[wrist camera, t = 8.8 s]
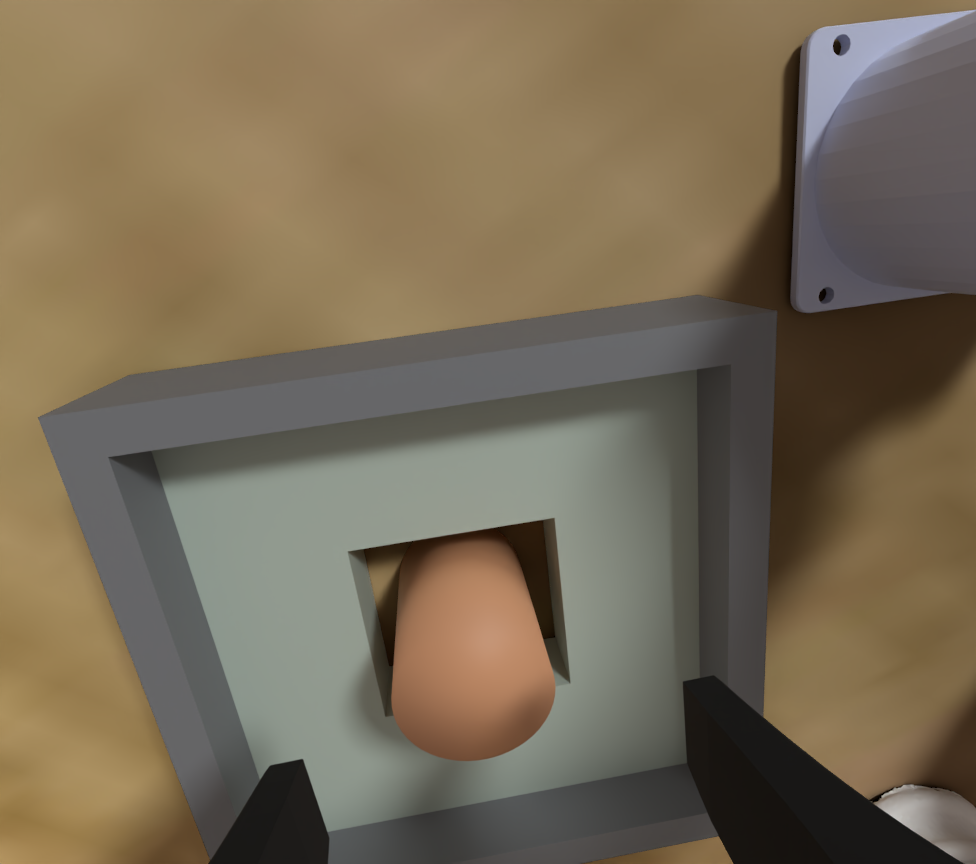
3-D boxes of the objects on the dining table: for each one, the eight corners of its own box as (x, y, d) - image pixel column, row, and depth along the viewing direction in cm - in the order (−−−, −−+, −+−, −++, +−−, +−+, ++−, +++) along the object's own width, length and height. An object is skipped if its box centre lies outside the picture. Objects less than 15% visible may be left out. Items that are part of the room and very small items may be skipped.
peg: (499, 504, 21) (528, 604, 15) (534, 604, 22) (573, 729, 16) (380, 545, 21) (366, 660, 15) (424, 642, 22) (425, 780, 16)
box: (697, 294, 19) (777, 310, 15) (701, 727, 25) (759, 828, 21) (128, 374, 18) (37, 417, 14) (271, 808, 24) (238, 932, 19)
